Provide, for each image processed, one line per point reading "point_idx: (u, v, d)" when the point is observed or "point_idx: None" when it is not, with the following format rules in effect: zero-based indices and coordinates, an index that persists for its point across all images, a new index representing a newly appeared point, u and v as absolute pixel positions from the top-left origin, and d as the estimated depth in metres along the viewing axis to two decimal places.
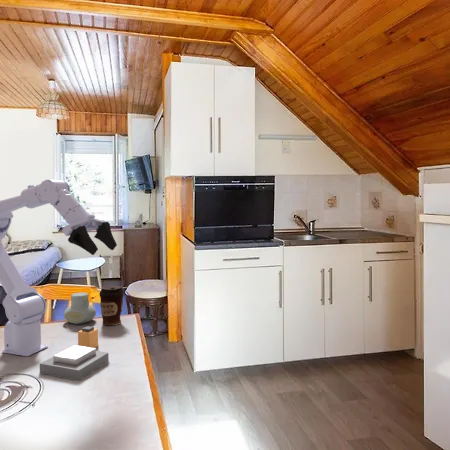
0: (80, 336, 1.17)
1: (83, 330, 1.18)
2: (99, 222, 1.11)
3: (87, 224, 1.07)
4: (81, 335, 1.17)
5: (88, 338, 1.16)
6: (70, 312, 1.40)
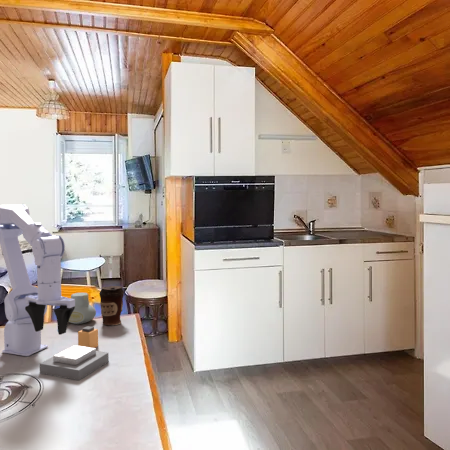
0: (80, 336, 1.17)
1: (83, 330, 1.18)
2: None
3: None
4: (81, 335, 1.17)
5: (88, 338, 1.16)
6: None
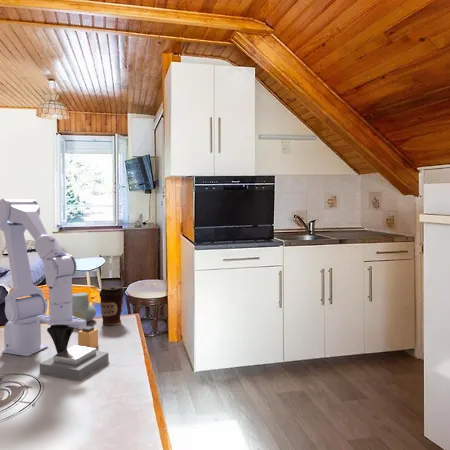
0: (80, 336, 1.17)
1: (83, 330, 1.18)
2: None
3: None
4: (81, 335, 1.17)
5: (88, 338, 1.16)
6: None
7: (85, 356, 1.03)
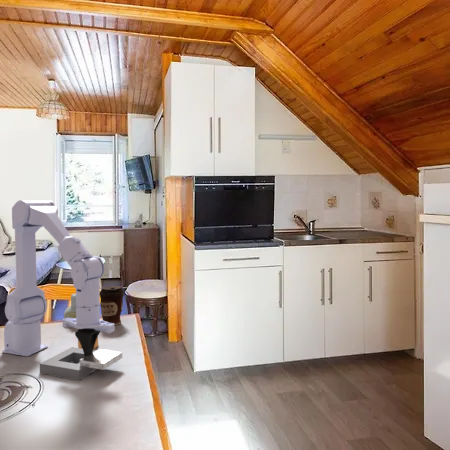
0: None
1: None
2: None
3: None
4: None
5: None
6: (70, 312, 1.40)
7: (112, 360, 1.00)
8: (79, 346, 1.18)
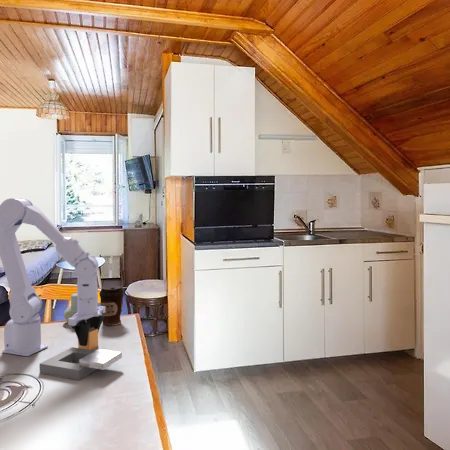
0: None
1: None
2: None
3: None
4: None
5: (88, 338, 1.16)
6: (70, 312, 1.40)
7: (111, 360, 1.01)
8: (79, 346, 1.18)
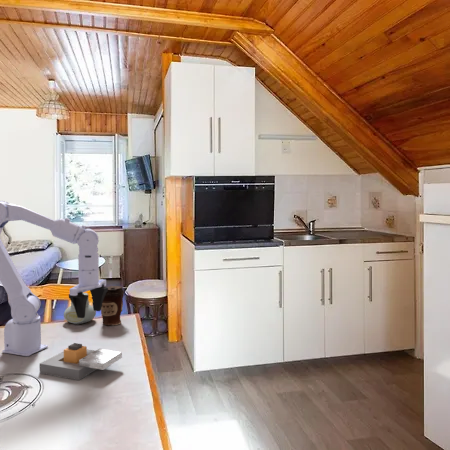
0: (66, 355, 1.03)
1: (69, 348, 1.04)
2: None
3: None
4: (67, 354, 1.03)
5: (75, 357, 1.02)
6: (70, 312, 1.40)
7: (111, 360, 1.01)
8: None
